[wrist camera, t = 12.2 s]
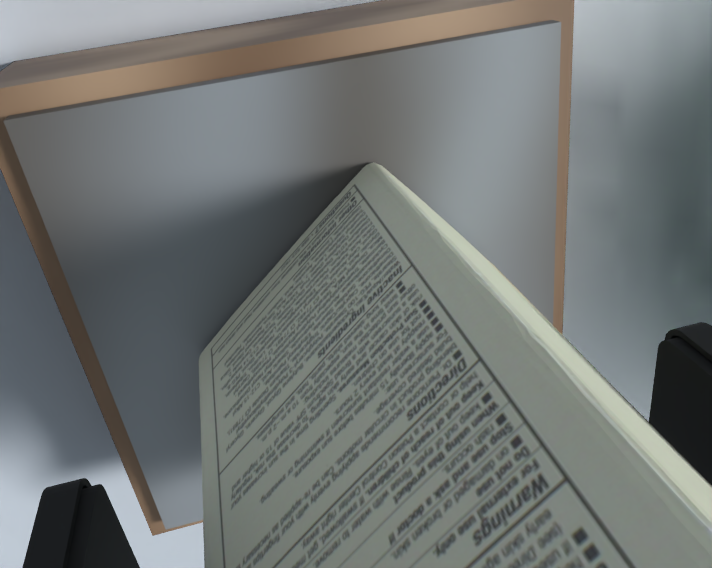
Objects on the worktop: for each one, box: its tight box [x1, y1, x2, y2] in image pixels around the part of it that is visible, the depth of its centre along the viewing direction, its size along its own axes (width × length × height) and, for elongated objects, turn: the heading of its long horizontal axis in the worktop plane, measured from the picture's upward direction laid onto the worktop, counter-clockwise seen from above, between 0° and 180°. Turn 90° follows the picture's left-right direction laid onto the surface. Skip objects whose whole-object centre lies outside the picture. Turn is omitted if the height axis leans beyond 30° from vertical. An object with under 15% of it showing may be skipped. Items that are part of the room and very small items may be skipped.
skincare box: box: [199, 163, 712, 568], centre depth 10 cm, size 6×4×12 cm
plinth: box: [0, 0, 574, 535], centre depth 17 cm, size 12×12×4 cm
